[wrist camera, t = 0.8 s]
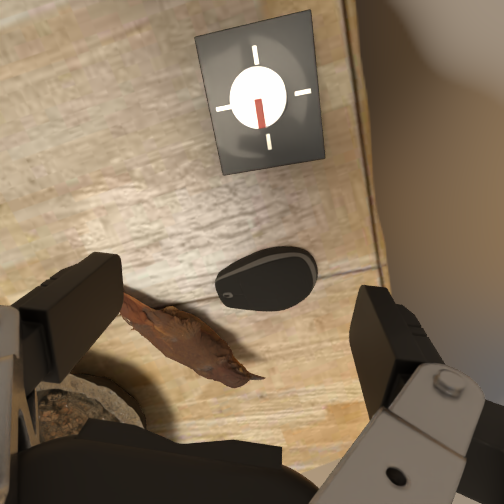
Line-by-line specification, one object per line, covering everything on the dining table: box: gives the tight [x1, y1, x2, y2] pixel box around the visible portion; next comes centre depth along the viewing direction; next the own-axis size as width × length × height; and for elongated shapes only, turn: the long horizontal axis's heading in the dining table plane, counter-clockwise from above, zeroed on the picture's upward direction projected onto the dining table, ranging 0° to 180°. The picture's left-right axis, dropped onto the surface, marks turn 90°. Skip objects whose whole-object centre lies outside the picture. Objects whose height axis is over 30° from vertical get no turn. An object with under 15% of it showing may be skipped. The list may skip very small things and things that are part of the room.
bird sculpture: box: [120, 293, 265, 388], centre depth 42 cm, size 7×25×5 cm, turn 64°
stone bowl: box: [36, 374, 146, 443], centre depth 48 cm, size 25×25×9 cm
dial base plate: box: [194, 9, 325, 175], centre depth 32 cm, size 12×10×3 cm
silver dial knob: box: [230, 66, 287, 129], centre depth 28 cm, size 4×4×5 cm
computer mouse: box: [215, 247, 318, 311], centre depth 39 cm, size 7×12×4 cm, turn 110°
